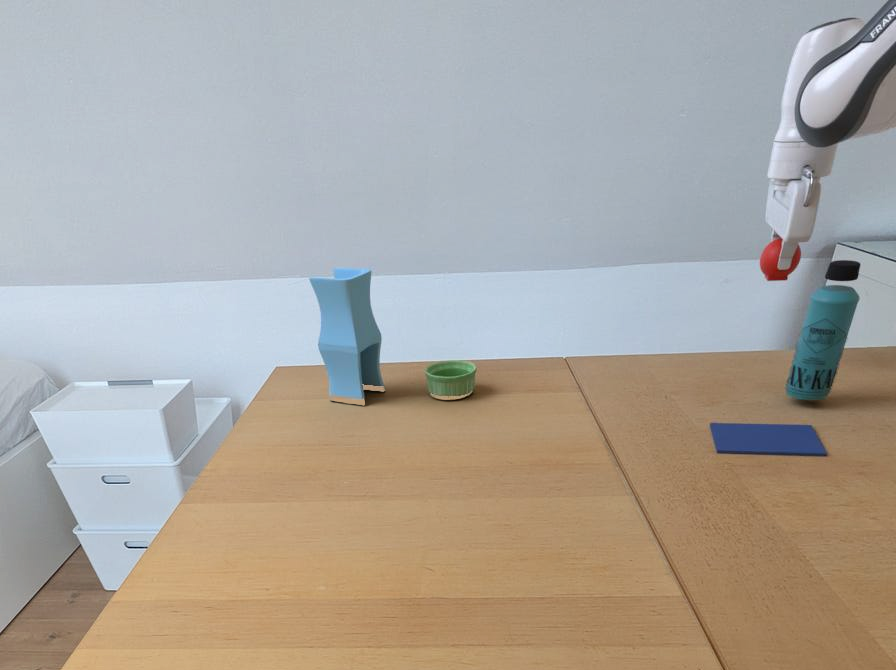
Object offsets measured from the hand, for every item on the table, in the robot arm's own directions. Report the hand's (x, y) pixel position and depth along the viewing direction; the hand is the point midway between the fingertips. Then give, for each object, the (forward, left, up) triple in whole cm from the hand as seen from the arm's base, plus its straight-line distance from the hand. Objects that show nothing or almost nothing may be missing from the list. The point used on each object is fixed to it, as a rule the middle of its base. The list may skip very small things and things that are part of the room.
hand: (778, 264), depth 114 cm
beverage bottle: (-5, +18, -17) cm, 25 cm away
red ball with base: (0, 0, -2) cm, 2 cm away
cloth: (+3, +33, -16) cm, 37 cm away
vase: (+69, +18, -17) cm, 73 cm away
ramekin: (+52, +16, -17) cm, 57 cm away
